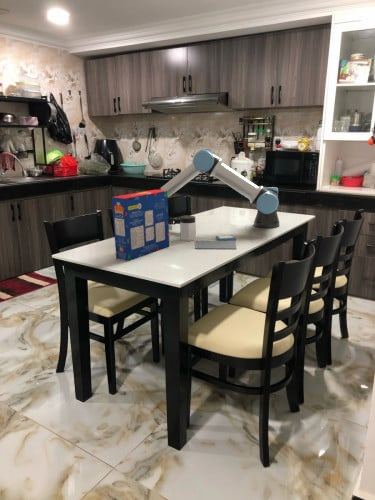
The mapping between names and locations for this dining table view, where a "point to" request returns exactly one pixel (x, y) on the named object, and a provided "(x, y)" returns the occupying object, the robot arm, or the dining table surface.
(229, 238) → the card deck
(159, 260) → the dining table surface
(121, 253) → the blue cardboard box
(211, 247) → the mat
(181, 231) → the jar
